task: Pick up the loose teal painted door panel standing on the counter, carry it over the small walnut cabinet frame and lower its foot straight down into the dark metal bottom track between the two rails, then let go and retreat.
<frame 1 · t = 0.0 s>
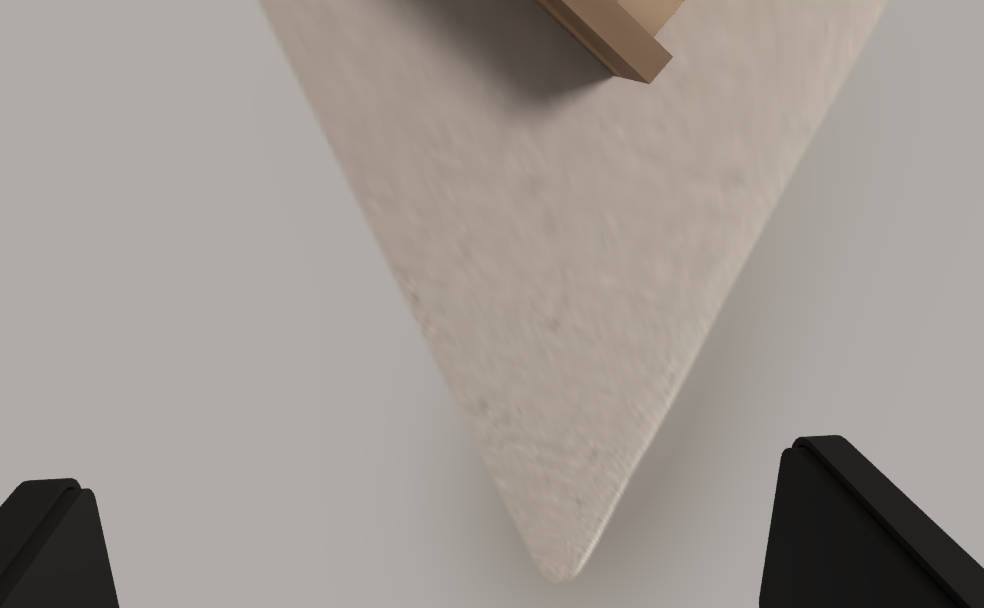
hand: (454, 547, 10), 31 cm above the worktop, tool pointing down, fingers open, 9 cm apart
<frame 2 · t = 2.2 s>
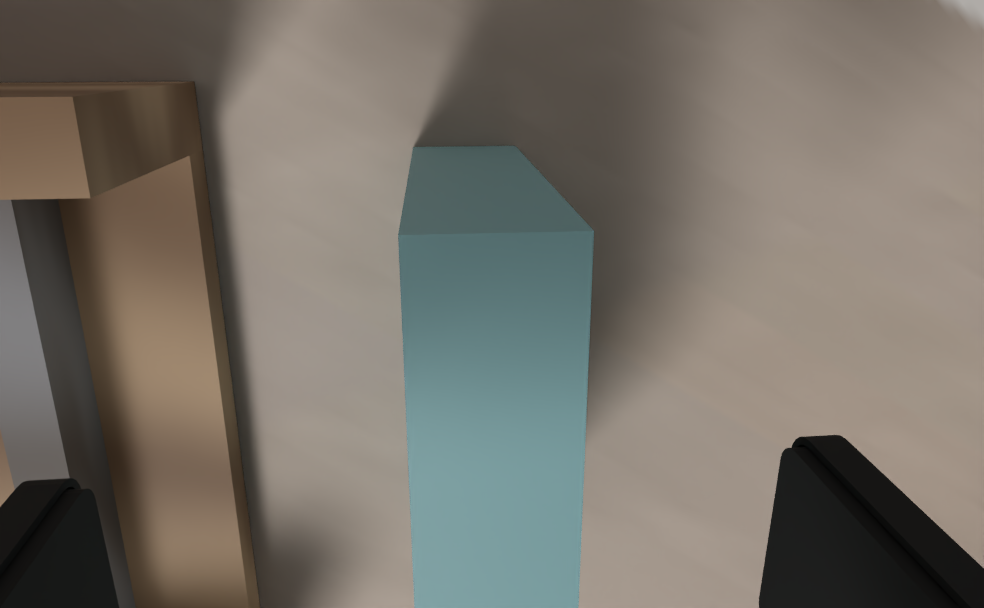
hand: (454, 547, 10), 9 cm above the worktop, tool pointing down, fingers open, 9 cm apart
door panel: (467, 343, 19), on the worktop
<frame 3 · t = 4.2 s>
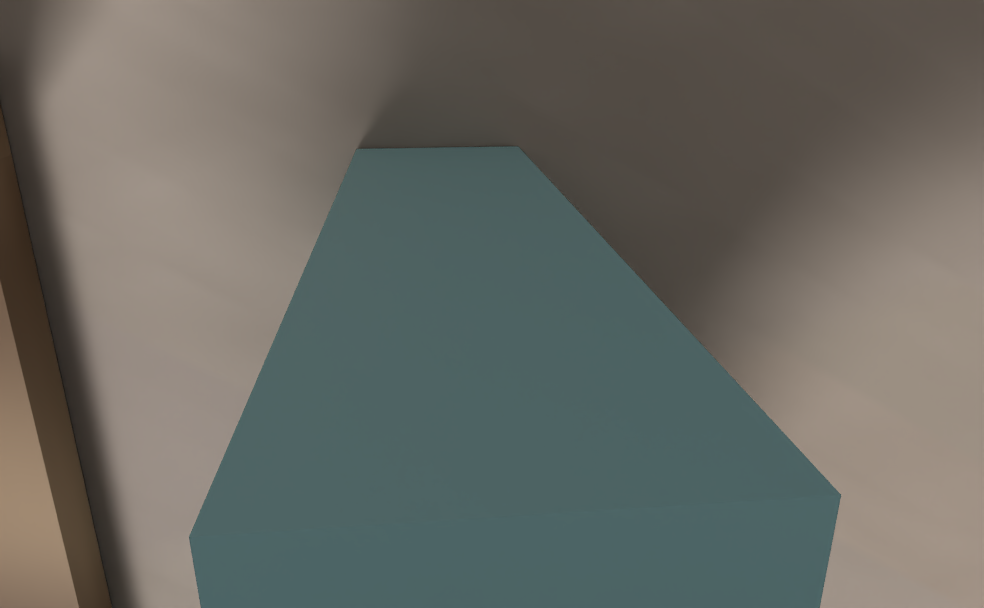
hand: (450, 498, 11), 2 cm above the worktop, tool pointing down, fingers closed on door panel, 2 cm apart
door panel: (445, 440, 13), on the worktop, touching gripper
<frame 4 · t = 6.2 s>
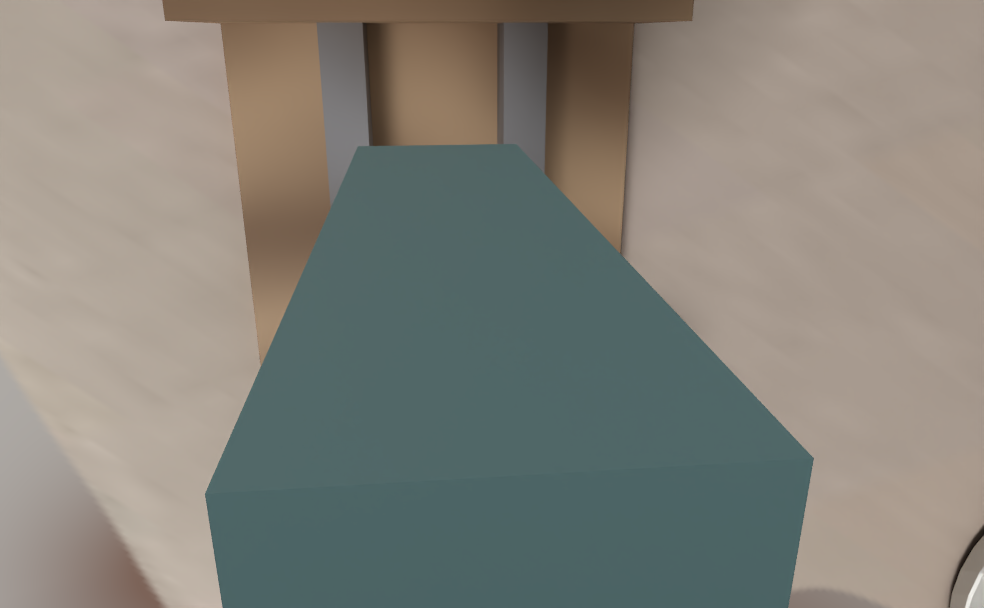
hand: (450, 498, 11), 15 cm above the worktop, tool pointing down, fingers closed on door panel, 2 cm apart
door panel: (445, 434, 13), point 13 cm above the worktop, touching gripper
cabinet track: (437, 246, 25), on the worktop
when the fingers open (4 cm above the worktop, at t = 8.2 s): door panel stays where it is, resting on cabinet track.
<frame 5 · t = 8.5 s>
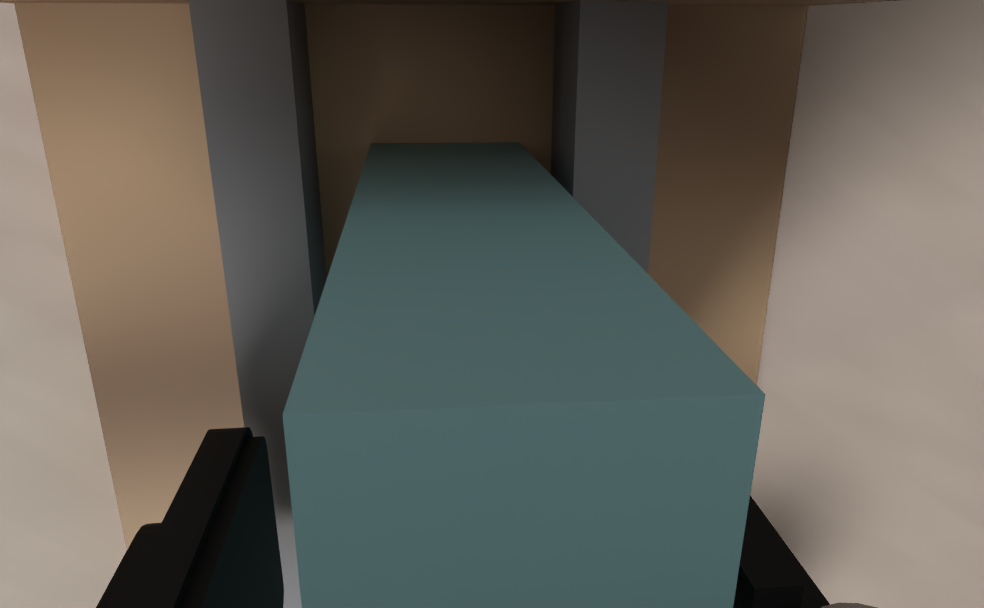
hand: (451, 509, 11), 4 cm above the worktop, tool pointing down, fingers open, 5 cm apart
door panel: (449, 416, 14), point 1 cm above the worktop, touching cabinet track
cabinet track: (440, 388, 15), on the worktop
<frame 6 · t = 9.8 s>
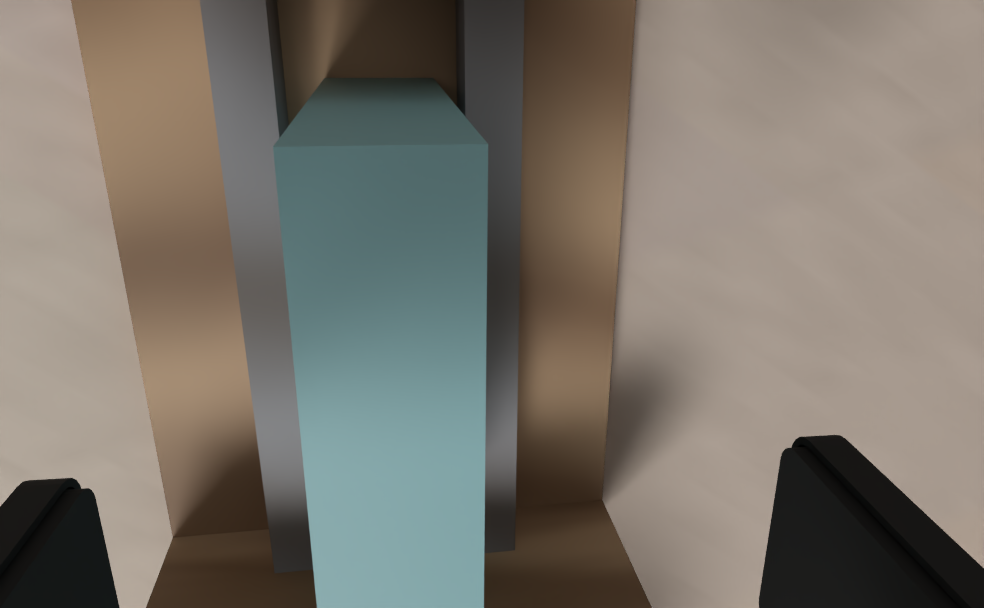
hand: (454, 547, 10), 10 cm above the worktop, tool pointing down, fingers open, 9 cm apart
door panel: (388, 287, 19), point 1 cm above the worktop, touching cabinet track
cabinet track: (382, 271, 19), on the worktop
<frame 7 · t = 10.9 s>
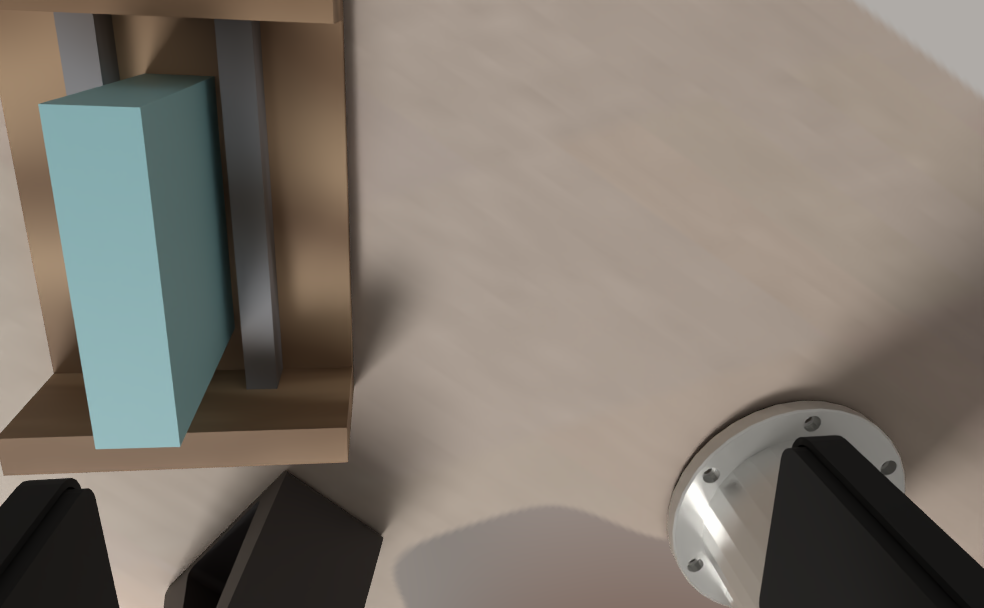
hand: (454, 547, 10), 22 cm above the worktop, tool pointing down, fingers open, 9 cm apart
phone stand: (276, 557, 37), on the worktop
door panel: (192, 209, 29), point 1 cm above the worktop, touching cabinet track
cabinet track: (195, 201, 30), on the worktop
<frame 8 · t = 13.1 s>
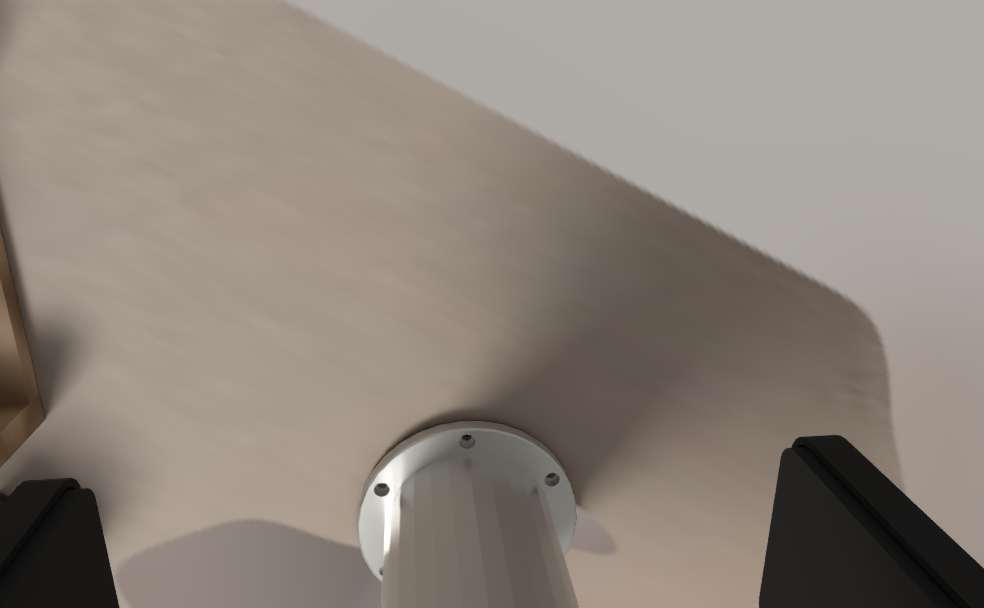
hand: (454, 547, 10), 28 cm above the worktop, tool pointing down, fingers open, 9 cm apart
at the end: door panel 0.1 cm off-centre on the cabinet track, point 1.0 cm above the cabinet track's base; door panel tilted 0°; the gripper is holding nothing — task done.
